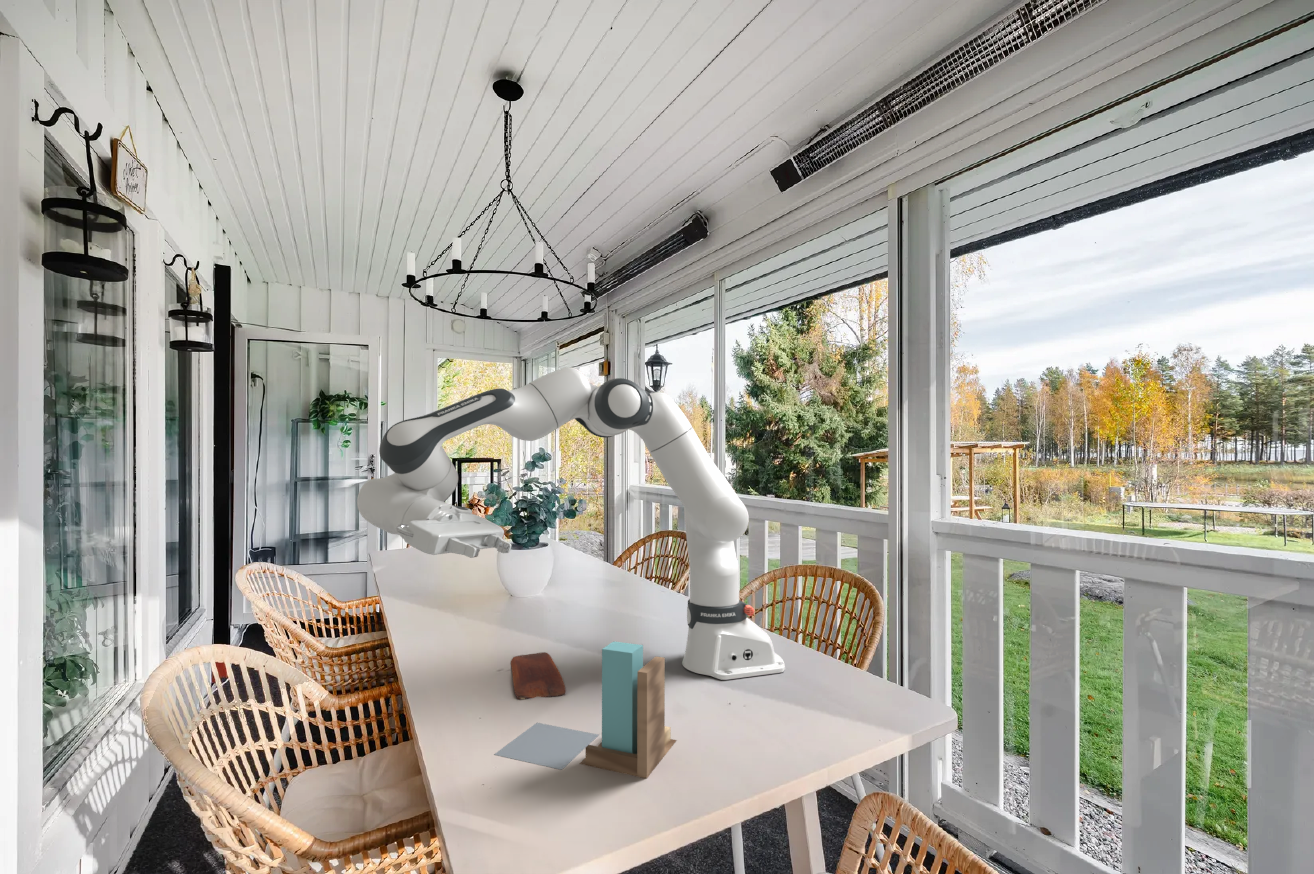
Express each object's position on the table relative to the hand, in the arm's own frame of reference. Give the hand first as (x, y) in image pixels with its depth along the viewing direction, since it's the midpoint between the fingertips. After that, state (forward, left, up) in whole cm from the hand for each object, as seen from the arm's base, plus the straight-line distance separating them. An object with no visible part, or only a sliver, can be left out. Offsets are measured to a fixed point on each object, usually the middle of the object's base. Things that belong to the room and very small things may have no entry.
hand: (493, 551), depth 108 cm
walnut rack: (-23, +14, -30) cm, 40 cm away
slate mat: (-10, +9, -30) cm, 33 cm away
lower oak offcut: (-24, +10, -29) cm, 40 cm away
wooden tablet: (-6, -25, -31) cm, 40 cm away
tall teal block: (-21, +16, -29) cm, 40 cm away
